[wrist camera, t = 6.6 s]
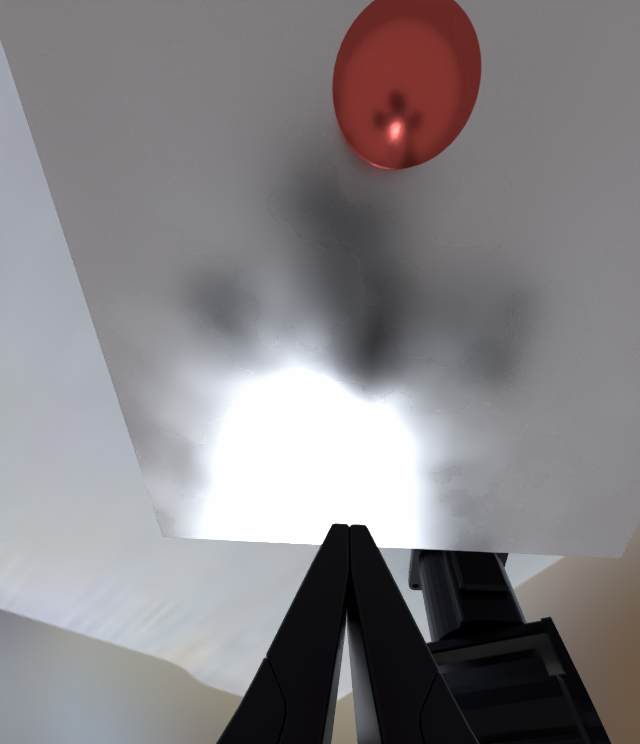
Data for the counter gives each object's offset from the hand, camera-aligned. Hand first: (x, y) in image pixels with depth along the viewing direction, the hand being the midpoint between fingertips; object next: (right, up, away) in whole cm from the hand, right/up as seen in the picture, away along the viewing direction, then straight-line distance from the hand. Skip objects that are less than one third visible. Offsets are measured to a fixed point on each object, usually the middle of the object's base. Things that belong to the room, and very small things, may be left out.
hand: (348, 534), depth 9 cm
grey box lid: (+3, +5, +2) cm, 6 cm away
